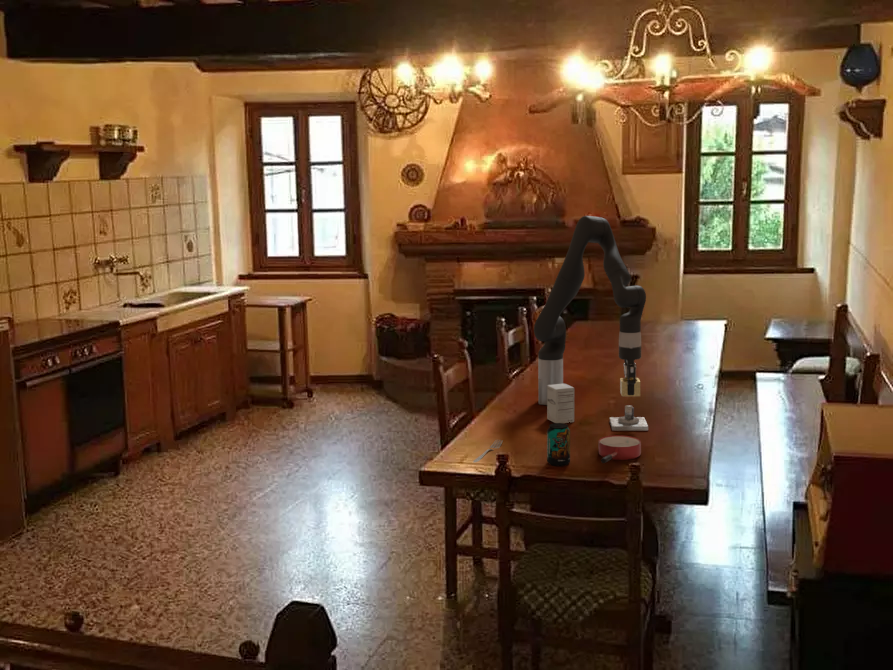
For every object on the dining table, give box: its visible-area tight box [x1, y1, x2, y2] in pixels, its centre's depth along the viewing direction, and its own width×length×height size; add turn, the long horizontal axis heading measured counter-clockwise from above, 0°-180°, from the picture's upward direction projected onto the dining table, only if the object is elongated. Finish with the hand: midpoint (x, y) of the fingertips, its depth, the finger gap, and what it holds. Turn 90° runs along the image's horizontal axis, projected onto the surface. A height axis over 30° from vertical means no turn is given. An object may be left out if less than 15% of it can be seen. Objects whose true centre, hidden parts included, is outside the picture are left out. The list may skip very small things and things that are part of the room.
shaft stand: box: [609, 404, 649, 432], centre depth 352 cm, size 12×12×7 cm
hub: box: [619, 377, 641, 397], centre depth 350 cm, size 6×6×5 cm
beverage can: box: [546, 422, 571, 467], centre depth 311 cm, size 7×7×12 cm
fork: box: [472, 439, 504, 463], centre depth 324 cm, size 3×24×2 cm, turn 156°
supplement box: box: [546, 382, 575, 424], centre depth 360 cm, size 7×7×13 cm
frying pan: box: [598, 434, 642, 464], centre depth 311 cm, size 32×13×6 cm, turn 166°
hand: (629, 392), depth 350 cm, fingers closed on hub, 6 cm apart
